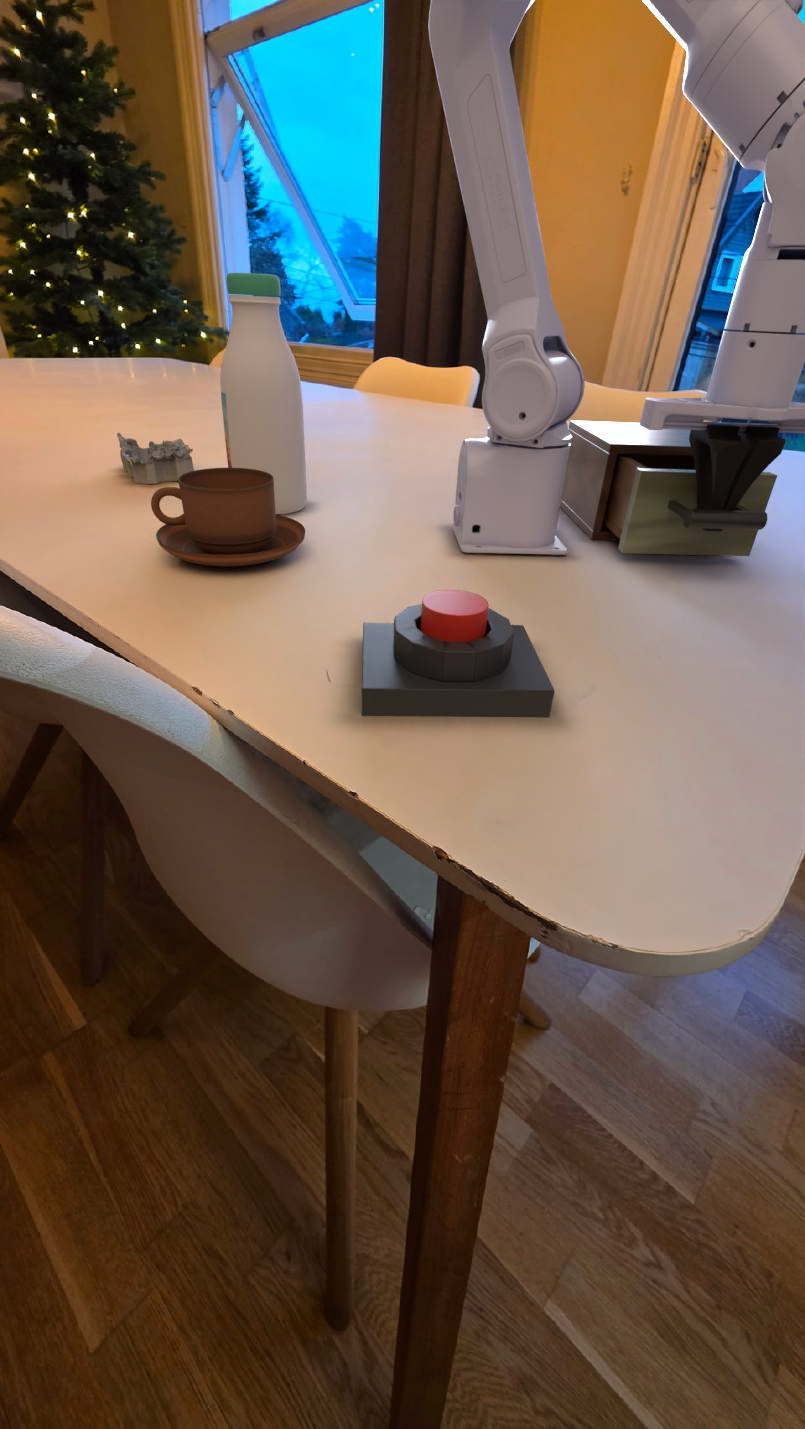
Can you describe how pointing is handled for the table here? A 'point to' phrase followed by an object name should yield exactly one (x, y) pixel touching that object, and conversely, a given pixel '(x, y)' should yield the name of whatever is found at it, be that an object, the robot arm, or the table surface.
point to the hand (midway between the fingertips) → (708, 527)
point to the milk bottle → (263, 391)
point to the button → (454, 615)
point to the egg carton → (155, 460)
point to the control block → (452, 671)
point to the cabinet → (608, 466)
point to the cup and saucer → (226, 519)
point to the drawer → (679, 509)
